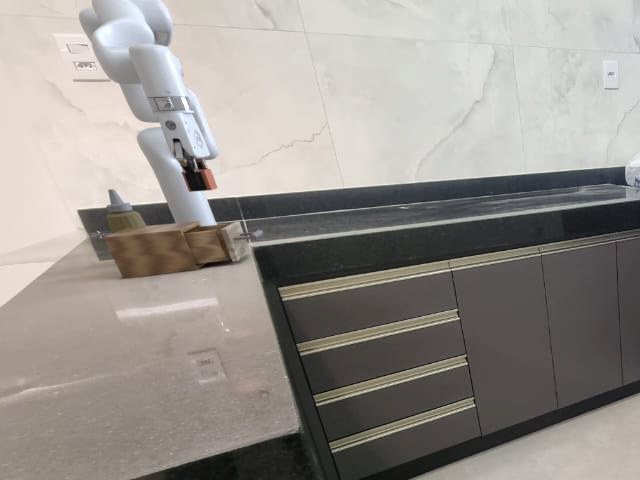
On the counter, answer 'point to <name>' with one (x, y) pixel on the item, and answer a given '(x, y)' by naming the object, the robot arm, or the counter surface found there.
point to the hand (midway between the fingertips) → (203, 188)
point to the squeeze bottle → (121, 214)
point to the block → (207, 178)
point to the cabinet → (152, 249)
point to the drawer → (219, 242)
